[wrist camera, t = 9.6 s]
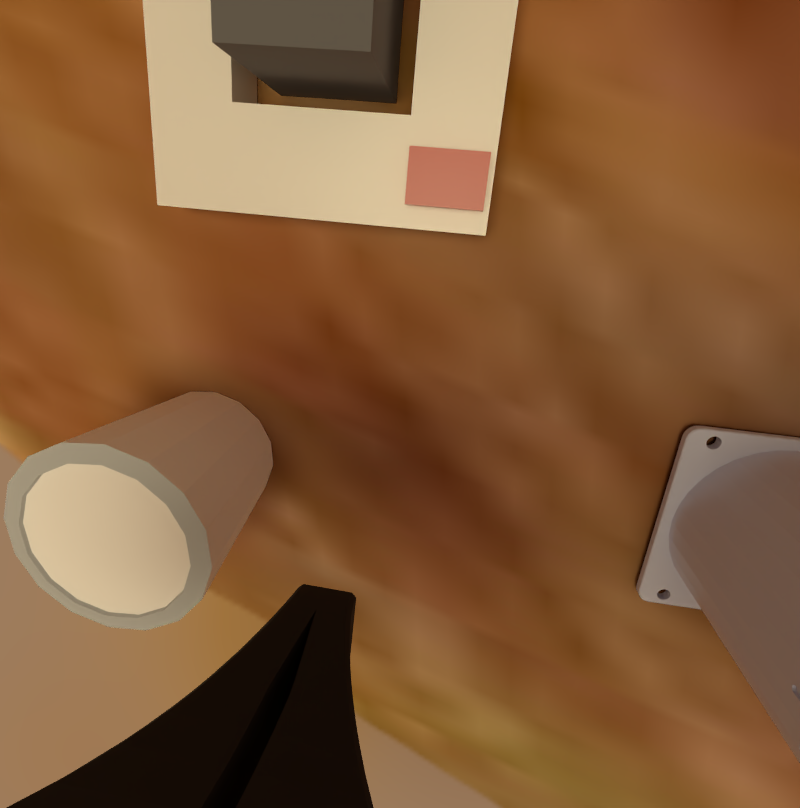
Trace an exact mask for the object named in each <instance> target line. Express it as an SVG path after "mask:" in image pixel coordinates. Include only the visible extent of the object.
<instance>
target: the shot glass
mask: <svg viewBox="0 0 800 808" xmlns="http://www.w3.org/2000/svg"><path fill="white" fill-rule="evenodd" d="M272 467H273V457H272V448H271V441H270V439H269V438H268V436H267V434H266V432H265V430H264V428H263V426H262V424H261V422H260V421H259V419H258V418H257V417H255V416H254V415H253V414H252V413H251V412H250V411H249V410H248V409H247V408H246V407H244V406H243V405H242V404H241V403H240V402H238V401H236V400H233V399H231V398H229V397H226V396H224V395H221V394H219V393H217V392H196V391H191V392H188V393H186V394H183V395H181V396H178V397H176V398H173V399H170V400H168V401H165V402H163V403H160V404H158V405H155V406H153V407H150V408H148V409H145V410H143V411H140V412H137V413H135V414H132V415H130V416H127V417H125V418H122V419H120V420H117V421H115V422H112V423H110V424H107V425H105V426H102V427H99V428H97V429H94V430H92V431H89V432H87V433H84V434H82V435H79V436H77V437H74V438H72V439H69V440H67V441H64V442H62V443H59V444H57V445H54V446H52V447H50V448H47V449H45V450H42V451H40V452H38V453H35V454H33V455H31V456H28V457H27V458H26V460H25V461H24V462H23V464H22V465H21V466H20V468H19V469H18V470H17V472H16V473H15V475H14V476H13V477H12V479H11V480H10V481H9V482H8V486H7V494H6V502H5V511H4V520H5V524H6V527H7V530H8V533H9V536H10V539H11V543H12V546H13V549H14V552H15V554H16V556H17V557H18V559H19V560H20V561H21V563H22V564H23V565H24V567H25V568H26V570H27V571H28V572H29V574H30V575H31V576H32V578H33V579H34V580H35V582H36V583H37V585H38V586H39V587H40V588H42V589H43V590H44V591H45V592H47V593H48V594H49V595H51V596H52V597H53V598H54V599H56V600H57V601H59V602H60V603H61V604H62V605H64V606H65V607H66V608H68V609H69V610H70V611H71V612H73V613H76V614H78V615H81V616H83V617H86V618H88V619H91V620H93V621H95V622H98V623H100V624H103V625H105V626H108V627H114V628H125V629H138V630H149V629H152V628H156V627H159V626H163V625H166V624H170V623H173V622H177V621H179V620H180V619H181V618H183V616H185V615H186V614H187V613H188V612H189V611H190V610H191V609H192V608H193V607H194V606H196V605H197V604H198V603H199V602H200V601H201V600H202V599H203V597H204V595H205V593H206V592H207V590H208V588H209V586H210V585H211V583H212V581H213V579H214V577H215V576H216V574H217V572H218V570H219V569H220V567H221V565H222V563H223V561H224V560H225V558H226V556H227V554H228V553H229V551H230V549H231V547H232V545H233V544H234V542H235V540H236V538H237V537H238V535H239V533H240V531H241V529H242V528H243V526H244V524H245V522H246V521H247V519H248V517H249V515H250V513H251V512H252V510H253V508H254V506H255V505H256V503H257V501H258V499H259V497H260V496H261V494H262V492H263V490H264V489H265V487H266V485H267V482H268V479H269V476H270V473H271V470H272Z"/></svg>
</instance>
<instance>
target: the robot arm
mask: <svg viewBox="0 0 800 808" xmlns="http://www.w3.org/2000/svg"><path fill="white" fill-rule="evenodd" d="M715 436H716V441H715V442H714V443H713V444H711V445H706V442H707V440H708V439H709V438H711V437H715ZM664 589H666V591H665V592H663V593H658V592H659V591H660V590H664ZM636 590H637V592H638V594H639V596H640V598H642V599H643V600H645V601H648V602H655V603H661V604H668V605H674V606H681V607H688V608H694V609H701V610H702V611H703V613H704V614H705V616H706V617H707V619H708V620H709V622H710V624H711V625H712V627H713V628H714V630H715V631H716V633H717V635H718V636H719V638H720V639H721V641H722V642H723V644H724V646H725V647H726V649H727V650H728V652H729V653H730V655H731V657H732V658H733V660H734V661H735V663H736V664H737V666H738V667H739V669H740V671H741V672H742V674H743V675H744V677H745V678H746V680H747V682H748V683H749V685H750V686H751V688H752V689H753V691H754V693H755V694H756V696H757V697H758V699H759V700H760V702H761V704H762V705H763V707H764V708H765V710H766V711H767V713H768V714H769V716H770V718H771V719H772V721H773V722H774V724H775V725H776V727H777V729H778V730H779V732H780V733H781V735H782V736H783V738H784V740H785V741H786V743H787V744H788V746H789V747H790V749H791V751H792V752H793V754H794V755H795V757H796V758H797V760H798V761H799V763H800V438H799V437H790V436H782V435H774V434H766V433H757V432H749V431H741V430H733V429H724V428H716V427H708V426H692V427H690V428H688V429H687V430H686V431H685V432H684V434H683V436H682V438H681V442H680V445H679V448H678V451H677V455H676V458H675V461H674V465H673V468H672V471H671V474H670V478H669V481H668V484H667V487H666V491H665V494H664V497H663V500H662V504H661V507H660V510H659V514H658V517H657V520H656V523H655V527H654V530H653V533H652V536H651V540H650V543H649V546H648V550H647V553H646V556H645V559H644V563H643V566H642V569H641V572H640V576H639V579H638V582H637V586H636ZM355 603H356V597H355V596H354V595H353V593H350V592H345V591H339V590H333V589H328V588H322V587H317V586H311V585H306V584H303V585H301V586H300V587H299V588H298V589H297V590H296V591H295V592H294V594H293V595H292V596H291V597H290V598H289V599H288V601H287V602H286V603H285V604H284V605H283V606H282V607H281V608H280V609H279V611H278V612H277V613H276V614H275V615H274V616H273V617H272V618H271V619H270V620H269V621H268V622H267V623H266V624H265V625H264V626H263V627H262V628H261V629H260V631H259V632H257V634H255V635H254V636H253V637H252V638H251V640H249V641H248V643H247V644H245V645H244V646H243V647H242V648H241V649H240V650H239V651H238V652H237V653H236V654H235V655H234V656H233V657H231V658H230V659H229V660H228V661H227V662H226V663H225V664H224V665H223V666H221V667H220V668H219V669H218V670H217V671H216V672H215V673H214V674H212V675H211V676H210V677H209V678H208V679H207V680H205V681H204V682H203V683H202V684H201V685H199V686H198V687H197V688H196V689H194V690H193V691H192V692H191V693H189V694H188V695H187V696H186V697H184V698H183V699H182V700H180V701H179V702H178V703H177V704H175V705H174V706H173V707H171V708H170V709H168V710H167V711H166V712H164V713H163V714H161V715H160V716H159V717H157V718H156V719H154V720H153V721H152V722H150V723H149V724H148V725H146V726H145V727H143V728H142V729H140V730H139V731H137V732H136V733H134V734H133V735H132V736H130V737H129V738H127V739H125V740H124V741H122V742H121V743H119V744H118V745H116V746H114V747H113V748H111V749H109V750H108V751H106V752H105V753H103V754H101V755H100V756H98V757H96V758H95V759H93V760H92V761H90V762H88V763H87V764H85V765H84V766H82V767H80V768H79V769H77V770H75V771H74V772H72V773H70V774H69V775H67V776H65V777H63V778H61V779H60V780H58V781H56V782H54V783H52V784H50V785H48V786H47V787H45V788H43V789H41V790H39V791H37V792H35V793H33V794H32V795H30V796H28V797H26V798H24V799H22V800H20V801H18V802H16V803H14V804H13V805H11V806H9V807H7V808H373V804H372V800H371V796H370V792H369V787H368V784H367V780H366V775H365V771H364V765H363V760H362V755H361V750H360V745H359V739H358V733H357V727H356V720H355V713H354V705H353V695H352V686H351V672H350V652H351V642H352V632H353V622H354V613H355Z"/></svg>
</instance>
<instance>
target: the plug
mask: <svg viewBox="0 0 800 808" xmlns="http://www.w3.org/2000/svg"><path fill="white" fill-rule="evenodd" d="M403 5H404V0H211V26H212V43H214V44H215V45H216V46H218V47H219V48H220V49H222V50H223V51H224V52H225V53H227V54H228V55H229V56H231V57H232V58H233V59H235V60H236V61H237V62H238V63H240V64H241V65H242V66H244V67H245V68H246V69H247V70H249V71H250V72H251V73H253V74H254V75H255V76H257V77H258V78H259V79H260V80H262V81H263V82H264V83H266V84H267V85H268V86H270V87H271V88H272V89H273V90H275V91H276V92H277V93H279V94H280V95H282V96H297V97H311V98H326V99H340V100H355V101H370V102H384V103H396V102H397V88H398V75H399V61H400V47H401V33H402V19H403Z"/></svg>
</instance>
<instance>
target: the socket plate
mask: <svg viewBox="0 0 800 808" xmlns="http://www.w3.org/2000/svg"><path fill="white" fill-rule="evenodd" d="M517 7H518V0H421V3H420V15H419V27H418V39H417V51H416V63H415V75H414V87H413V99H412V110H411V115H401V114H388V113H374V112H361V111H347V110H334V109H321V108H307V107H294V106H280V105H267V104H257V76H255V75H254V74H253V73H251V72H250V71H249V70H247V69H246V68H245V67H244V66H242V65H241V64H240V63H238V62H237V61H236V60H235V59H233V58H232V57H231V56H229V55H228V54H227V53H225V52H224V51H223V50H222V49H220V48H219V47H218V46H216V45H215V44H214V43H212V26H211V0H143V11H144V25H145V38H146V52H147V66H148V80H149V94H150V108H151V122H152V136H153V149H154V163H155V177H156V191H157V205H163V206H173V207H183V208H194V209H205V210H215V211H226V212H237V213H247V214H258V215H269V216H279V217H290V218H301V219H311V220H322V221H333V222H343V223H354V224H365V225H375V226H386V227H397V228H407V229H418V230H429V231H440V232H450V233H461V234H472V235H482V236H486V230H487V222H488V215H489V208H490V201H491V194H492V186H493V179H494V172H495V165H496V158H497V150H498V143H499V136H500V129H501V122H502V114H503V107H504V100H505V93H506V86H507V78H508V71H509V64H510V57H511V50H512V42H513V35H514V28H515V21H516V14H517Z"/></svg>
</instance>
